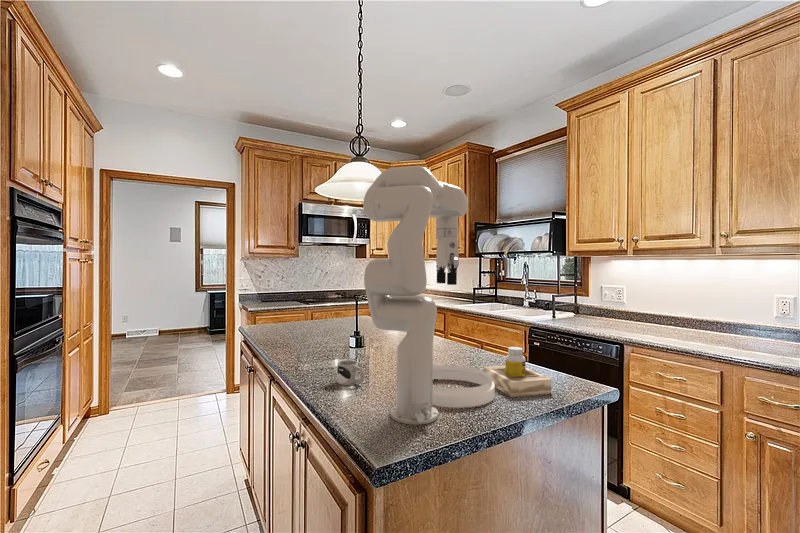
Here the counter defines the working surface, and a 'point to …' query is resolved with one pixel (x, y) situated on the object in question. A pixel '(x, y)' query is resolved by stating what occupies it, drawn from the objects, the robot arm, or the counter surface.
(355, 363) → the mug
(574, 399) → the counter surface
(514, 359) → the pill bottle
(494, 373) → the socket block
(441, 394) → the white open ring
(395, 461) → the counter surface
